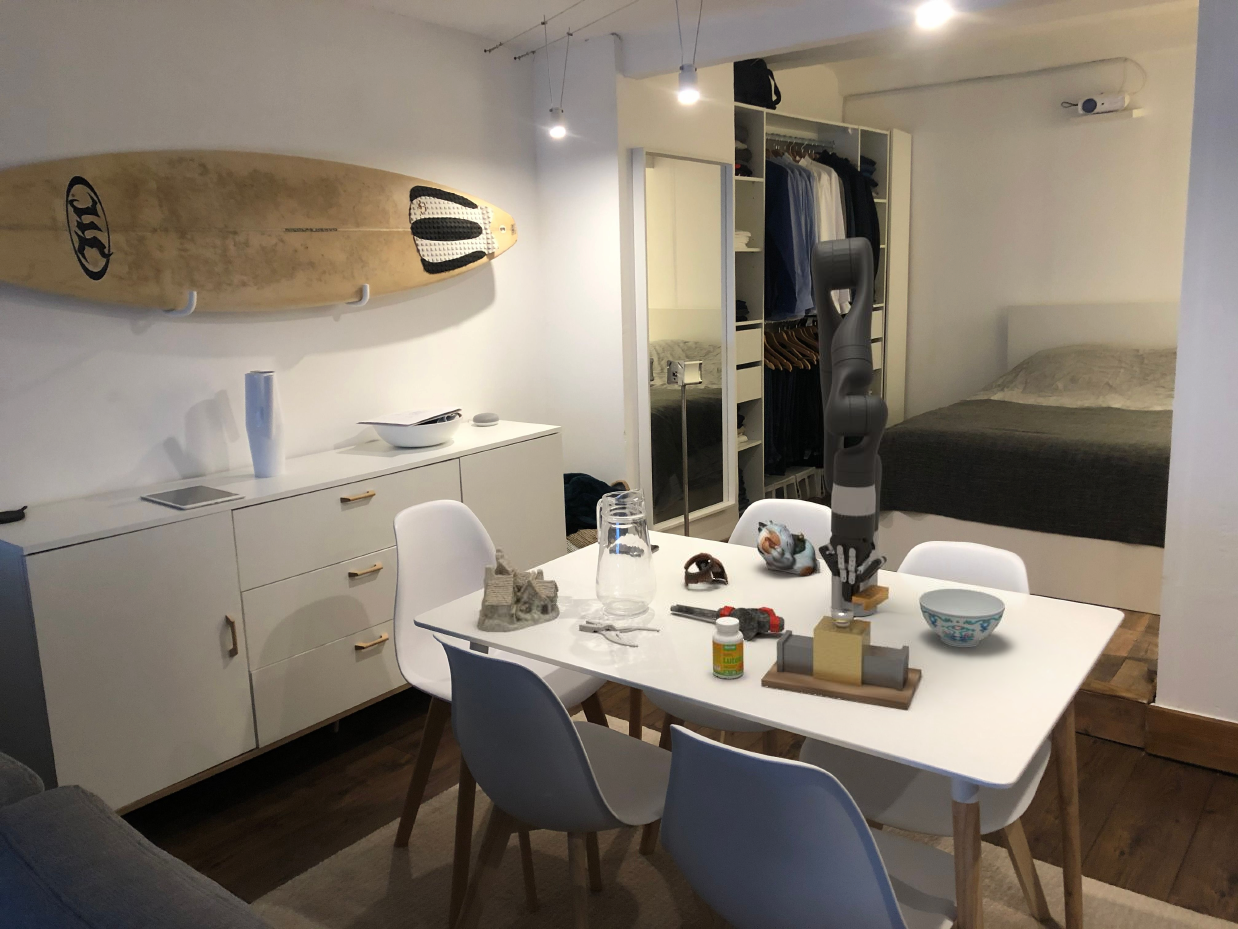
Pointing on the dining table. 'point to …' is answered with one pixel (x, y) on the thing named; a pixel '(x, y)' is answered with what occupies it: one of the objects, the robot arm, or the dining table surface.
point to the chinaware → (961, 615)
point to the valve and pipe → (843, 655)
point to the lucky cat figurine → (786, 550)
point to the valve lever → (861, 603)
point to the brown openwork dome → (704, 569)
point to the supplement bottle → (728, 649)
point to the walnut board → (845, 688)
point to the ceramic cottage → (515, 598)
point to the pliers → (602, 628)
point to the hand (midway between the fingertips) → (850, 601)
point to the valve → (740, 618)
